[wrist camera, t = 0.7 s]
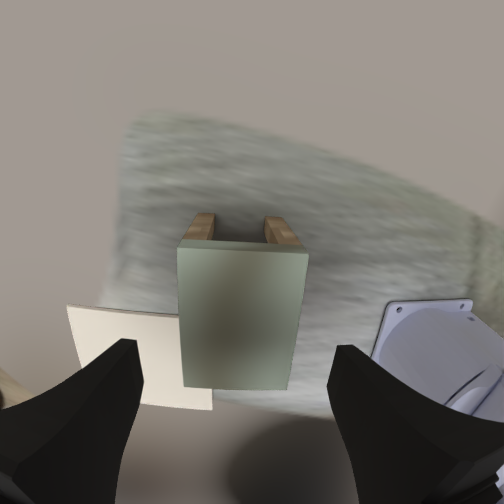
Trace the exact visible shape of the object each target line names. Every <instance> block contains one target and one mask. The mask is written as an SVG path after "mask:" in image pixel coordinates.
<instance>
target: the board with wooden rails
mask: <svg viewBox="0 0 504 504" xmlns="http://www.w3.org/2000/svg"><path fill="white" fill-rule="evenodd" d="M214 225H215V214H210V213H198V214H197V216H196V217H195V219H194V221H193V222H192V224H191V225H190V227H189V229H188V230H187V232H186V234H185V235H184V237H183V238H182V240H181V242H180V243H179V245H178V247H177V283H178V311H179V331H180V347H181V361H182V374H183V385H184V387H190V388H204V389H223V390H287V386H288V381H289V376H290V370H291V365H292V360H293V354H294V348H295V343H296V337H297V331H298V325H299V319H300V313H301V306H302V300H303V293H304V286H305V279H306V272H307V265H308V258H309V253H308V252H307V251H306V249H305V248H304V247H303V245H302V244H301V243H300V241H299V240H298V239H297V237H296V236H295V234H294V233H293V232H292V230H291V229H290V228H289V226H288V225H287V224H286V222H285V221H284V220H283V218H282V217H266V216H265V226H264V234H265V237H266V239H267V242H268V243H253V242H233V241H212V237H213V233H214Z"/></svg>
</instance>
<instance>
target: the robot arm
mask: <svg viewBox="0 0 504 504" xmlns="http://www.w3.org/2000/svg"><path fill="white" fill-rule="evenodd" d="M472 305H473V301H472V300H470V299H458V300H437V301H410V302H391V303H390V304H389V305H388V306H387V308H386V311H385V315H384V319H383V322H382V326H381V329H380V332H379V336H378V339H377V342H376V345H375V348H374V351H373V354H372V357H371V358H370V357H368V356H367V355H366V354H365V353H363V352H362V351H361V350H359V349H358V348H357V347H355V346H354V345H337V348H336V352H335V356H334V360H333V364H332V368H331V372H330V375H329V379H328V383H327V390H328V395H329V400H330V404H331V408H332V411H333V414H334V417H335V419H336V422H337V425H338V427H339V430H340V433H341V435H342V438H343V441H344V443H345V446H346V449H347V451H348V454H349V457H350V461H351V464H352V468H353V473H354V477H355V482H356V487H357V493H358V498H359V504H504V339H503V338H502V337H501V336H499V335H498V334H497V333H496V332H495V331H494V330H492V329H491V328H490V327H489V326H488V325H486V324H485V323H484V322H483V321H482V320H480V319H479V318H478V317H477V316H475V315H474V314H473V313H472V312H471V308H472ZM398 307H400V308H399V309H398V310H397V308H398ZM396 310H397V311H396ZM143 386H144V377H143V372H142V367H141V362H140V356H139V350H138V344H137V340H134V339H125V338H121V339H119V340H118V341H117V342H115V343H114V344H113V345H112V346H110V347H109V348H108V349H107V350H105V351H104V352H103V353H102V354H100V355H99V356H98V357H96V358H95V359H94V360H93V361H91V362H90V363H89V364H88V365H86V366H85V367H84V368H82V369H81V370H79V371H78V372H77V373H75V374H74V375H72V376H71V377H69V378H68V379H66V380H65V381H64V382H62V383H60V384H58V385H57V386H55V387H53V388H52V389H50V390H48V391H46V392H44V393H42V394H41V395H38V396H36V397H34V398H32V399H29V400H27V401H25V402H22V403H20V404H17V405H15V406H12V407H9V408H6V409H2V410H0V504H115V496H116V488H117V481H118V475H119V469H120V464H121V459H122V455H123V452H124V448H125V446H126V442H127V440H128V437H129V434H130V431H131V428H132V425H133V422H134V420H135V417H136V414H137V411H138V408H139V405H140V401H141V396H142V391H143Z"/></svg>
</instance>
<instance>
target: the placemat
mask: <svg viewBox="0 0 504 504" xmlns="http://www.w3.org/2000/svg"><path fill="white" fill-rule="evenodd" d="M66 307H67V312H68V317H69V321H70V325H71V329H72V333H73V338H74V341H75V345H76V349H77V353H78V356H79V359H80V362H81V366H82V368H84V367H85V366H86V365H88V364H89V363H90V362H91V361H93V360H94V359H95V358H96V357H98V356H99V355H100V354H102V353H103V352H104V351H105V350H107V349H108V348H109V347H110V346H112V345H113V344H114V343H115V342H117V341H118V340H119V339H121V338H125V339H134V340H137V344H138V350H139V356H140V362H141V367H142V372H143V377H144V386H143V391H142V396H141V401H140V403H144V404H151V405H159V406H167V407H177V408H189V409H202V410H212V407H213V405H212V389H204V388H190V387H184V385H183V374H182V361H181V347H180V331H179V315H169V314H157V313H145V312H135V311H125V310H115V309H106V308H97V307H89V306H81V305H74V304H68V305H67V306H66Z"/></svg>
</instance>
